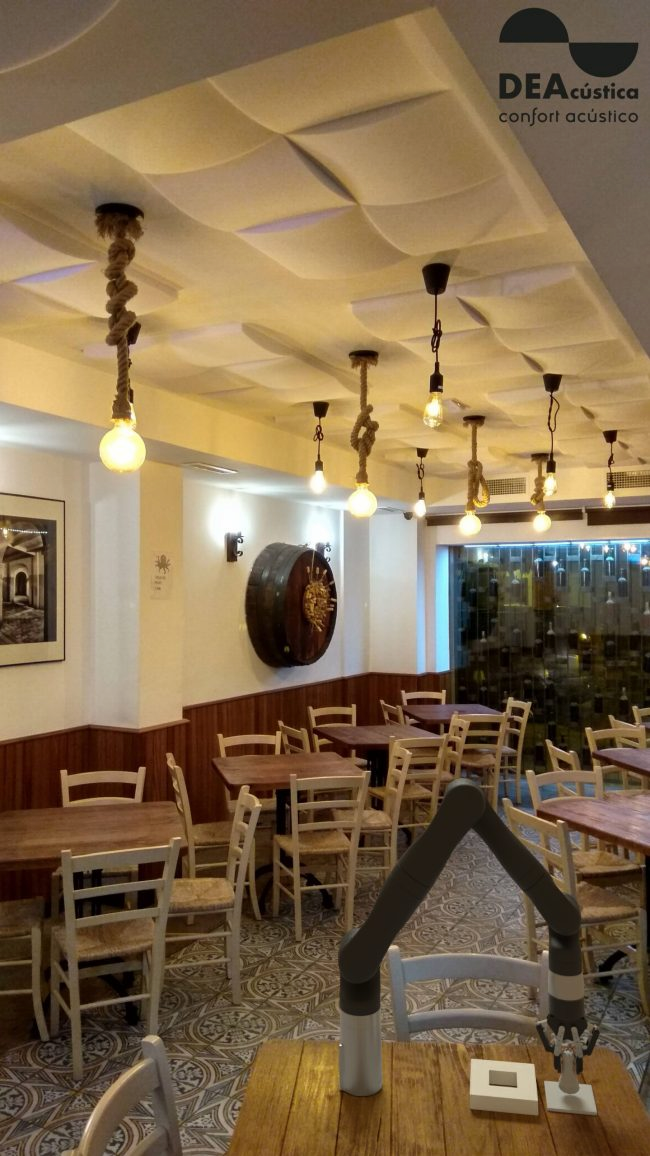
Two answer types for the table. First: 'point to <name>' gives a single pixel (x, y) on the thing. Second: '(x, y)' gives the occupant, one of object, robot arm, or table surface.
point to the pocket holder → (503, 1097)
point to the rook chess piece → (568, 1073)
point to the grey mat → (570, 1099)
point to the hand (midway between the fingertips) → (568, 1071)
